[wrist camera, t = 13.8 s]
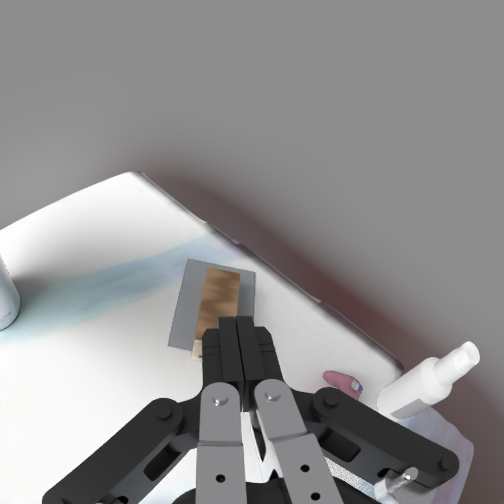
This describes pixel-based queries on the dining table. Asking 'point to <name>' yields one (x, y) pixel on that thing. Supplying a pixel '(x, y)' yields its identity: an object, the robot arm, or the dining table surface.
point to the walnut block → (215, 303)
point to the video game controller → (344, 383)
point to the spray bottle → (426, 383)
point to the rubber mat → (191, 300)
